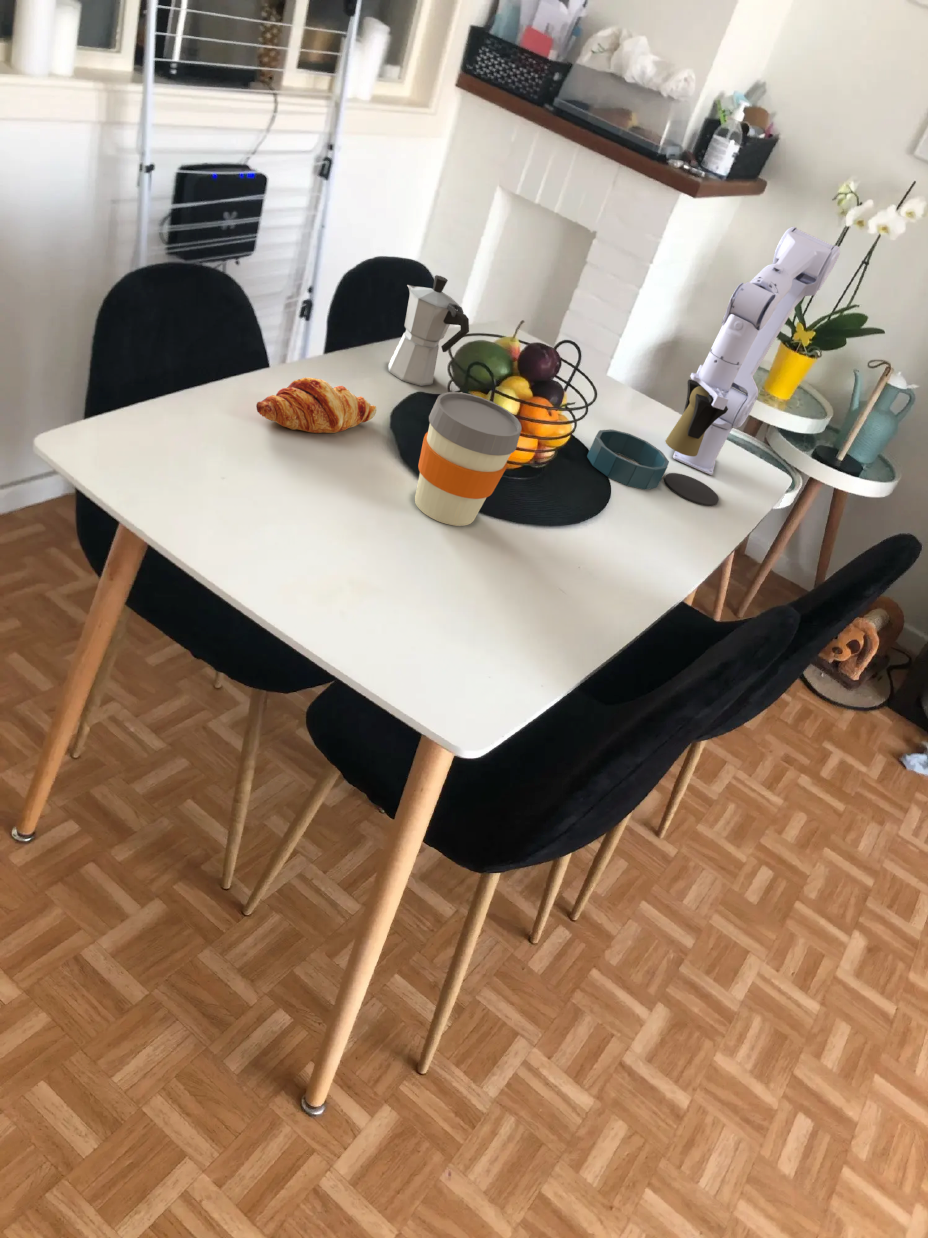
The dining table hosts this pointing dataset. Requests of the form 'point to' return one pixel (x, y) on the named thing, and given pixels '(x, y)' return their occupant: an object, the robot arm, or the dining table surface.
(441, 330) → the coffee maker
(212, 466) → the dining table surface
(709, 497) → the black mat
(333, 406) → the croissant
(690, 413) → the tan game pawn
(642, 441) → the teal hollow ring
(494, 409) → the reusable coffee cup
